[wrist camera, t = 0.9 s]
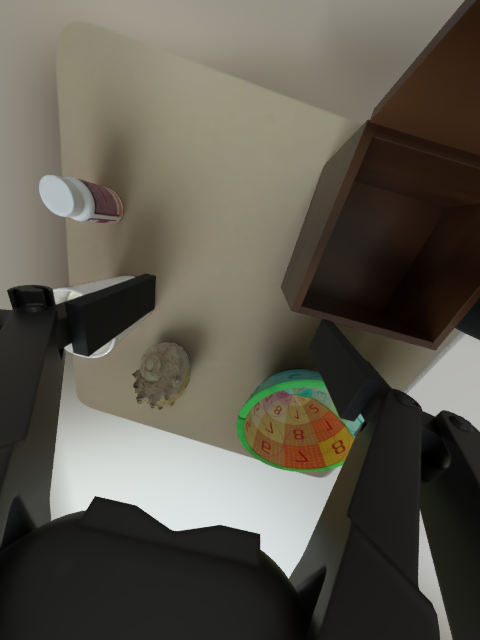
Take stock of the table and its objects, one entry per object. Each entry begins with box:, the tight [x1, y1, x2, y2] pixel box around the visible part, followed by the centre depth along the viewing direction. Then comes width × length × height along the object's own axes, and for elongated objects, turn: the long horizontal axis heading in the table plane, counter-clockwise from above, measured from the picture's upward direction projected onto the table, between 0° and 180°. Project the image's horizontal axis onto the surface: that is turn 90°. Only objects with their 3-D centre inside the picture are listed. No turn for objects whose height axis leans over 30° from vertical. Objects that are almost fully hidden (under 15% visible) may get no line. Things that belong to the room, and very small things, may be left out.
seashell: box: [132, 342, 191, 410], centre depth 36 cm, size 11×15×10 cm
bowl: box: [237, 369, 364, 472], centre depth 36 cm, size 22×22×10 cm
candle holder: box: [52, 275, 153, 358], centre depth 29 cm, size 10×10×12 cm
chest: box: [281, 120, 480, 350], centre depth 23 cm, size 17×18×11 cm
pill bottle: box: [39, 175, 123, 223], centre depth 25 cm, size 5×5×8 cm
